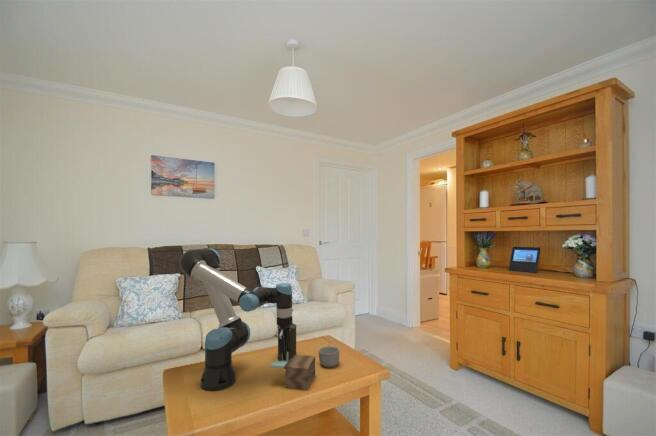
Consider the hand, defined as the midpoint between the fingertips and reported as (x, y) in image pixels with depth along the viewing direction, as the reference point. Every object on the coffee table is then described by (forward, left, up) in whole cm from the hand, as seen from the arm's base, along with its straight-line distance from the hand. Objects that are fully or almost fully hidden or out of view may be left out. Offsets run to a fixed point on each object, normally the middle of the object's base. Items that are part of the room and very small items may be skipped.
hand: (285, 366), depth 152 cm
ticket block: (+9, -3, -5) cm, 10 cm away
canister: (-6, +21, -5) cm, 22 cm away
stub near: (0, -7, +3) cm, 8 cm away
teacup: (+18, +19, -5) cm, 26 cm away
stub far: (+3, 0, -1) cm, 3 cm away
